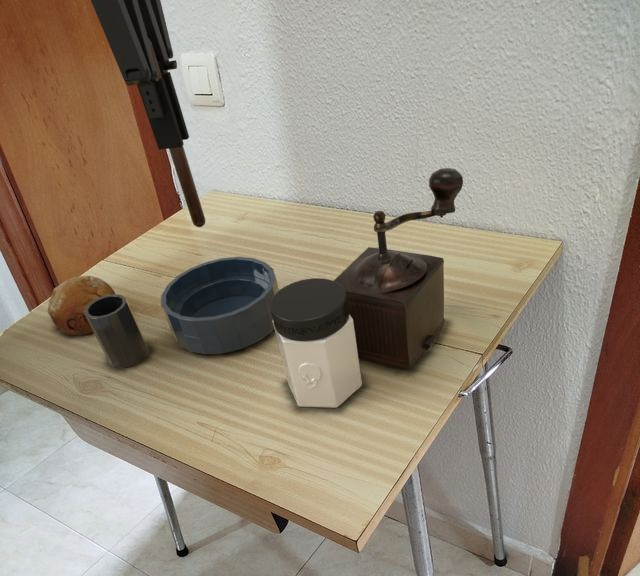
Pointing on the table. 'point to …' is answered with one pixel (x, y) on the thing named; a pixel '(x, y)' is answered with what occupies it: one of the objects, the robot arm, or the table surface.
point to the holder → (116, 330)
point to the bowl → (221, 305)
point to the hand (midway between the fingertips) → (174, 142)
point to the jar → (316, 342)
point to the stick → (185, 174)
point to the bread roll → (76, 303)
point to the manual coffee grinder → (400, 288)
